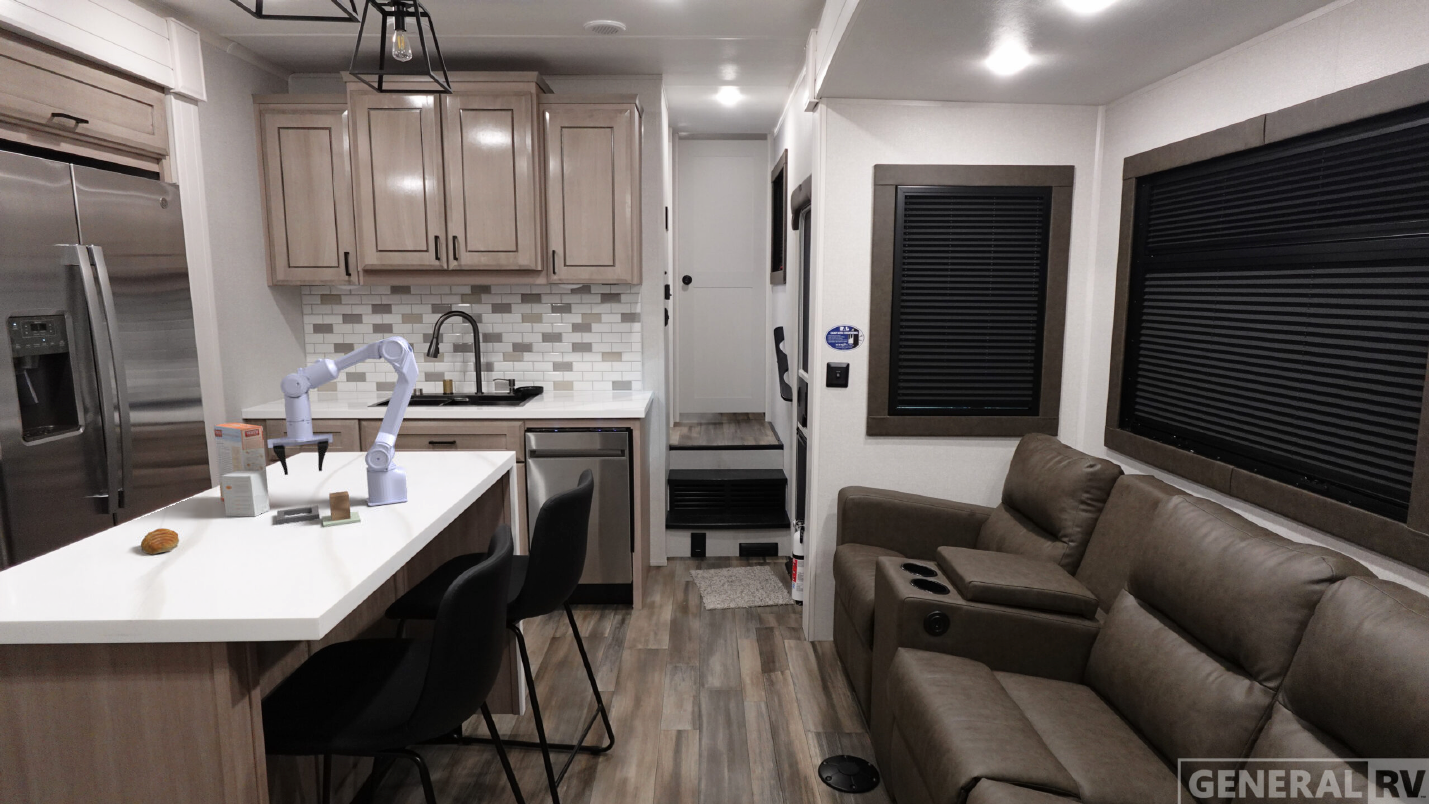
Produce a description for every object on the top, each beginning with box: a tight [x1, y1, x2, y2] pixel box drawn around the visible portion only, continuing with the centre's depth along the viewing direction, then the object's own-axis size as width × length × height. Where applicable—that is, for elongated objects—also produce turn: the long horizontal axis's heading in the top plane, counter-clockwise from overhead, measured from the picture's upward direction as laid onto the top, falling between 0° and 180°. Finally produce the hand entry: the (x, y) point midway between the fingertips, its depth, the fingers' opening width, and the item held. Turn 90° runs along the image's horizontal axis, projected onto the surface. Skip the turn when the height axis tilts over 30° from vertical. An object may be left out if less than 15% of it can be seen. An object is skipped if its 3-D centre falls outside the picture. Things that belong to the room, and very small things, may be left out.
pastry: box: [140, 528, 180, 555], centre depth 162 cm, size 9×7×4 cm
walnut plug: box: [328, 490, 351, 521], centre depth 182 cm, size 4×4×6 cm
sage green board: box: [321, 511, 362, 528], centre depth 182 cm, size 8×8×1 cm
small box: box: [221, 471, 271, 517], centre depth 188 cm, size 8×6×10 cm
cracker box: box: [213, 422, 269, 502], centre depth 198 cm, size 14×6×21 cm, turn 58°
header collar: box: [276, 505, 320, 525], centre depth 185 cm, size 9×9×1 cm
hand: (303, 472), depth 192 cm, fingers open, 7 cm apart
